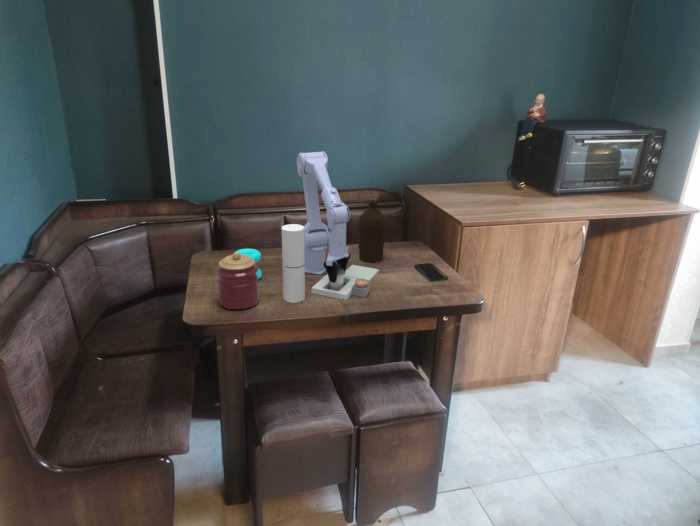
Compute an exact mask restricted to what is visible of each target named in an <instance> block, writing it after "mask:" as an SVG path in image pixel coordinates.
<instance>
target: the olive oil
mask: <svg viewBox="0 0 700 526" xmlns="http://www.w3.org/2000/svg"><path fill="white" fill-rule="evenodd" d="M368 200H369V201H368V208H366V209H365V210H364V211H363V212H362V213H361V215H359V216H360V217H359V220H358V255H359V256H358V258H359V260H360V261H361V260H362V261H361V262H365V263H368V262H370V263H369V264H374V263H380V262H381V261H383V258H384V245H385V236H386V227H387V220H386V217H385V215H384V214H383V212H381V210H380V209H379V208H378V203H379V202H378V197H374V196H373V197H372V196H371V197H369V198H368Z"/></svg>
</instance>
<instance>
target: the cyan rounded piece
mask: <svg viewBox="0 0 700 526" xmlns="http://www.w3.org/2000/svg"><path fill="white" fill-rule="evenodd" d="M235 252H239V253H240V254H243V255H247V256H249V257H251V258H253V259H254V260H255V264H256V263H258V262H259V261H261V258H262V253H261V251H259V250H257V249H255V248H240V249H238V250H236V251H235ZM256 273H257V276H258V280H260V279H261V277H262V276H263V272H262V270H261V269H260V268H258V271H257V272H256Z"/></svg>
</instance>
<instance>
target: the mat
mask: <svg viewBox="0 0 700 526" xmlns="http://www.w3.org/2000/svg"><path fill="white" fill-rule="evenodd" d="M377 273H378V274H379V273H380V269H378V268H373V267H368V266H361V265H355V264H351V265H350V266H349V267H348V268H346V271H345V274H344V276H346V277H351V278H357V279H366V280H367V281H368V284H370V282H371V281H372V280H373V279H374V278H375V277H376V276H377V275H378V274H377Z"/></svg>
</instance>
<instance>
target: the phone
mask: <svg viewBox="0 0 700 526" xmlns="http://www.w3.org/2000/svg"><path fill="white" fill-rule="evenodd" d="M413 268H414V269H415V270H416V271H417V272H418V273H420V275H422V276H423V278H424V279H426V280H427V281H428V282H432V283H433V282H441V281H448V279H449V277H448V275H446V274H445V273H444V272H443V271H441V270H440V268H438V267H437V266H436V265H434V264H433V263H430V262H428V263H426V262H425V263H419V264H418V263H417V264H414V265H413Z"/></svg>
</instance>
